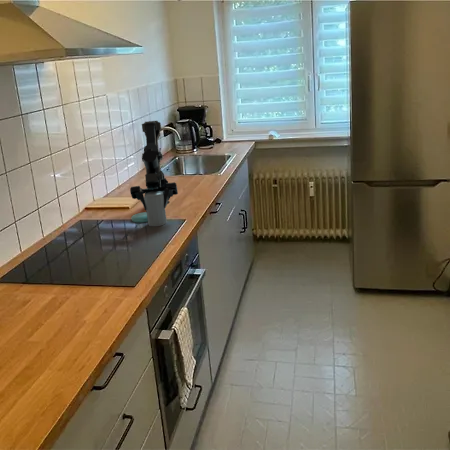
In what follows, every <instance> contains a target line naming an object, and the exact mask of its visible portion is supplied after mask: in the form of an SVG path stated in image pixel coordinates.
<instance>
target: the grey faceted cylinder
mask: <svg viewBox="0 0 450 450" xmlns="http://www.w3.org/2000/svg"><path fill="white" fill-rule="evenodd" d="M143 195H144V198H145V205H146V210H145V212H147V219H148V222H147V224H148V226H149V227H160V226H163V225H166V224H167V223H168V221H167V214H166V213H167V212H166V208H164V196H163V192H161V191H153V192H148V193H145V194H143Z"/></svg>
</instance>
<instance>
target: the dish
mask: <svg viewBox="0 0 450 450" xmlns="http://www.w3.org/2000/svg"><path fill="white" fill-rule="evenodd" d="M130 219H131V222H133V223H136V224H138V223H148V219H147V212H146V211H143V212H138V213H135V214H133V215H131V217H130Z"/></svg>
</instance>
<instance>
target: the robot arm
mask: <svg viewBox="0 0 450 450" xmlns="http://www.w3.org/2000/svg"><path fill="white" fill-rule="evenodd" d="M141 129H142V133H144V136H145V138H146V140H145V141H146V144H145V146H144V147H143V153H142V155H141V160H142V161H141V162H143V165H144V167H145V175H144V177H145V187H146V188H141V185H134V186H133V185H132V186H131V187H130V190H129V192H130V195H131V197H132V199H133V200H138V201H140V203H141V204H142V206H143V208H144V210H145V211H146V205H145V198H144V194H145V193H148V192H153V191H161V192H163V196H164V208H165V209H166V208H167V205H168V204H170V201H169V200H170V199H171V197H172V198H173V197H174V196H176V195H178V194H179V193H178V186H177V183H176V182H169V181H168V179H167V177H165V174H164V172H163V171H162V169H161V161H162V159H163V153H162V152H161V151H160V150H159V138H161V131H162V124H161V122H160V121H158V120H149V121H144V122H143V123H142V124H141Z"/></svg>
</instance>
